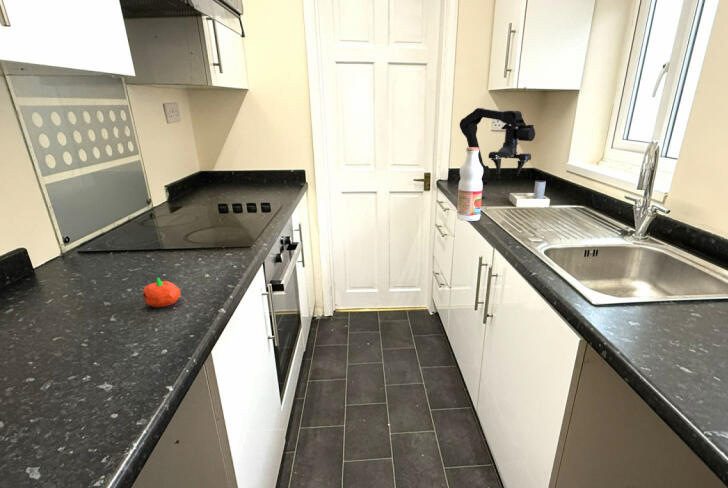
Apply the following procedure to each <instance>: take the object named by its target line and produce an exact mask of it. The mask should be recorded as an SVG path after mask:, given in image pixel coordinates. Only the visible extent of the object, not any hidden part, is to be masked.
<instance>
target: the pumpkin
mask: <svg viewBox="0 0 728 488" xmlns="http://www.w3.org/2000/svg"><path fill="white" fill-rule="evenodd" d="M181 294H182V292H181V289H180V288H179V287H178V286H177V285H176V284H175V283H173V282H171V281H167V280H161V278H160V277H156V282H153V283H150V284H147V285H146V286H145V287H144V288H143V290H142V297H143V301H144V302H145V303H146V304H147V305H149V306H151V307H153V308H164V307H167V306H168V307H169V306H171V305H173V304H174V303H175V304H176V302H177V301H178V300H179V298H180V296H181Z"/></svg>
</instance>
